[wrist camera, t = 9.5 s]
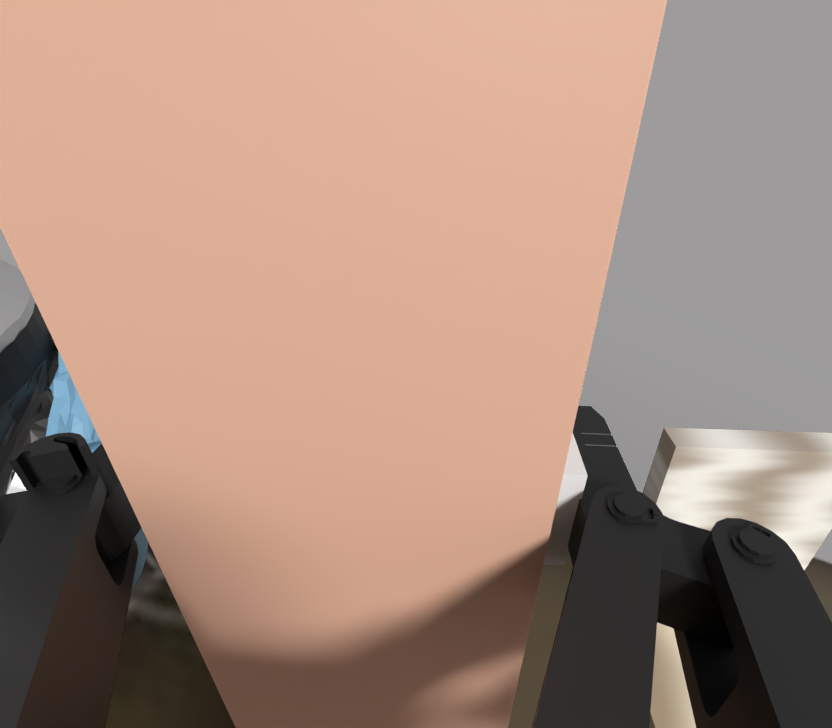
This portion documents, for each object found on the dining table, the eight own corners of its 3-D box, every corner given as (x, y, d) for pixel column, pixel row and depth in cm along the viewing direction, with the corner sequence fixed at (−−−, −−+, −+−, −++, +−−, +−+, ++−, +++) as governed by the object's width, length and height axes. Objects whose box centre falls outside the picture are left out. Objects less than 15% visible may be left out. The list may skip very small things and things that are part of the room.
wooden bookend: (736, 1030, 17) (948, 948, 10) (599, 579, 32) (645, 427, 25) (1099, 1073, 16) (1606, 1016, 9) (778, 589, 31) (876, 434, 24)
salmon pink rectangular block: (249, 757, 15) (-133, -56, 5) (295, 608, 19) (149, 14, 9) (496, 779, 14) (685, -79, 4) (486, 621, 19) (567, 6, 8)
